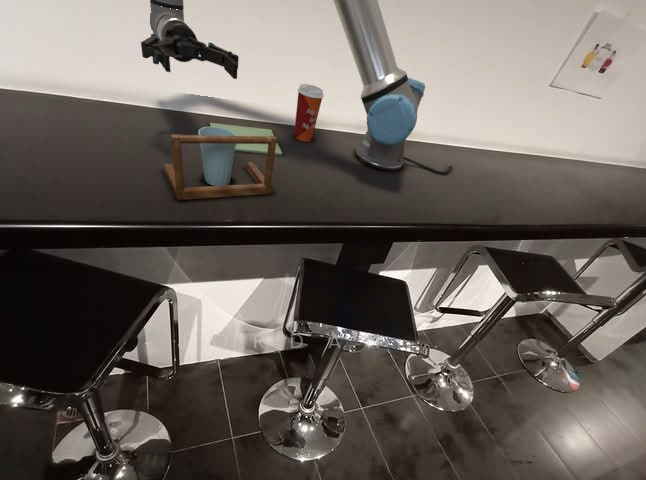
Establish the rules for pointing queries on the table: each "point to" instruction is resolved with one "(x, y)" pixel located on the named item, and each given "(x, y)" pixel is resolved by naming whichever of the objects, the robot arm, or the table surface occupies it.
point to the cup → (217, 157)
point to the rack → (261, 187)
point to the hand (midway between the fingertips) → (203, 68)
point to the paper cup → (307, 111)
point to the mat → (250, 132)
